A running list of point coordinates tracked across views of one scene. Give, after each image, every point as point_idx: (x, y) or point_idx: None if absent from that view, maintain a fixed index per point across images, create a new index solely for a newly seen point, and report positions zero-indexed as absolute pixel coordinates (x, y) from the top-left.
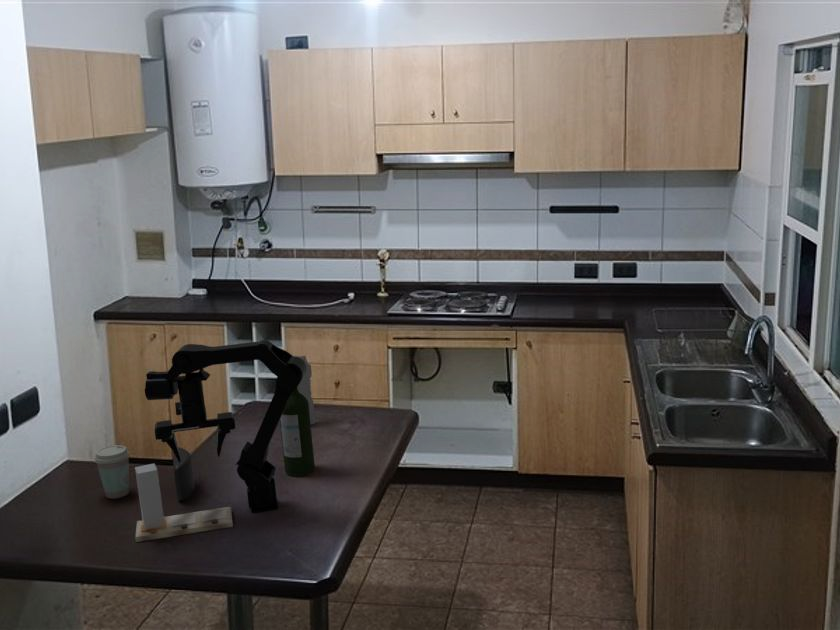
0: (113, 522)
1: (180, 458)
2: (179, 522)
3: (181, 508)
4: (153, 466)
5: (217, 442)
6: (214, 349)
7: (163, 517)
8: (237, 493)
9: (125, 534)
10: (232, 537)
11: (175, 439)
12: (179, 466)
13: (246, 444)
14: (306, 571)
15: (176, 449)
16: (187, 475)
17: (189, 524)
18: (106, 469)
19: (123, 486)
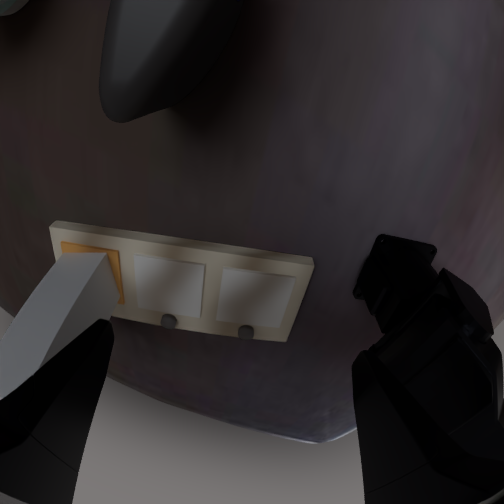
0: (6, 172)
1: (105, 331)
2: (155, 298)
3: (166, 155)
4: None
5: (371, 461)
6: None
7: (111, 312)
8: (376, 137)
9: (42, 252)
10: (268, 365)
11: (41, 469)
12: (126, 100)
13: (462, 425)
14: (319, 435)
15: (80, 442)
16: (191, 67)
17: (182, 313)
18: None
19: (7, 1)
